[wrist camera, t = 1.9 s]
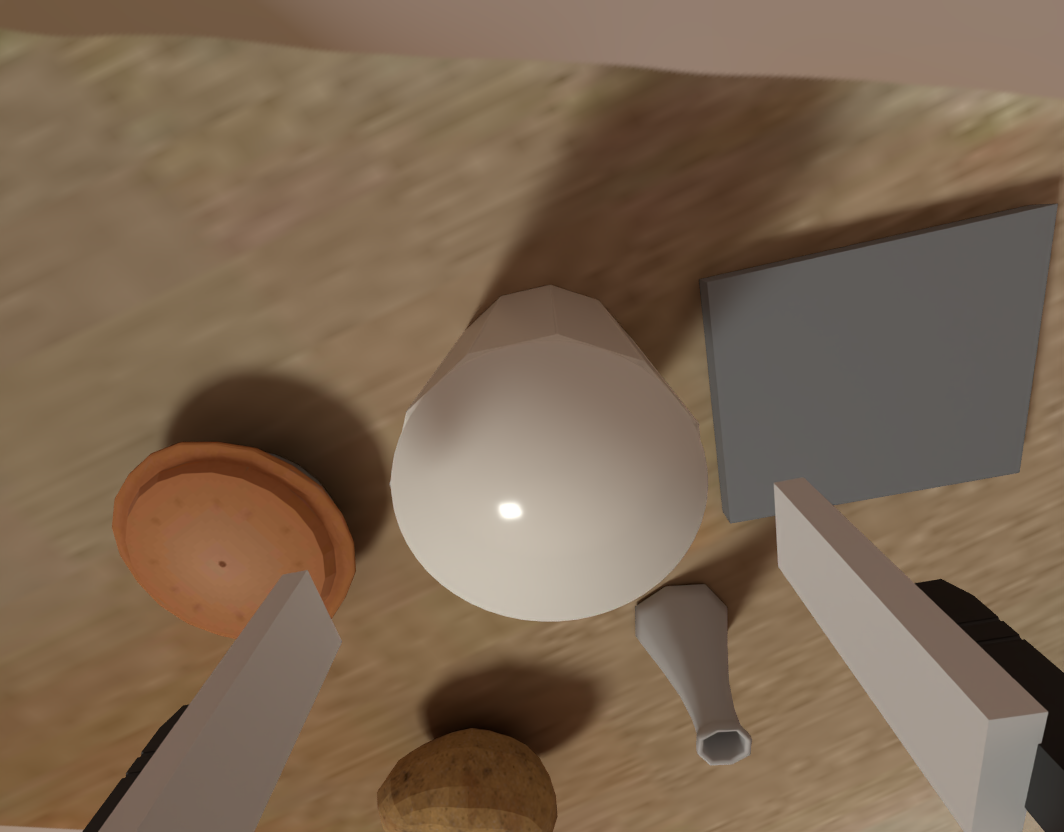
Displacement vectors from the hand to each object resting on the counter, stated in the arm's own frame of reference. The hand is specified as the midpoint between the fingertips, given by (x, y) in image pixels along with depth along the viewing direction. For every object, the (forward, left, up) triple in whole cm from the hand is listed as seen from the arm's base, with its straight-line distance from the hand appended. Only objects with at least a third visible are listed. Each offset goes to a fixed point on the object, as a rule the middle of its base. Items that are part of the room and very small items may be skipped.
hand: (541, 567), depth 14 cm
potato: (+13, +31, -19) cm, 39 cm away
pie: (+22, +6, -19) cm, 29 cm away
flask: (-6, +21, -19) cm, 29 cm away
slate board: (-19, +4, -18) cm, 27 cm away
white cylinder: (0, 0, -19) cm, 18 cm away
